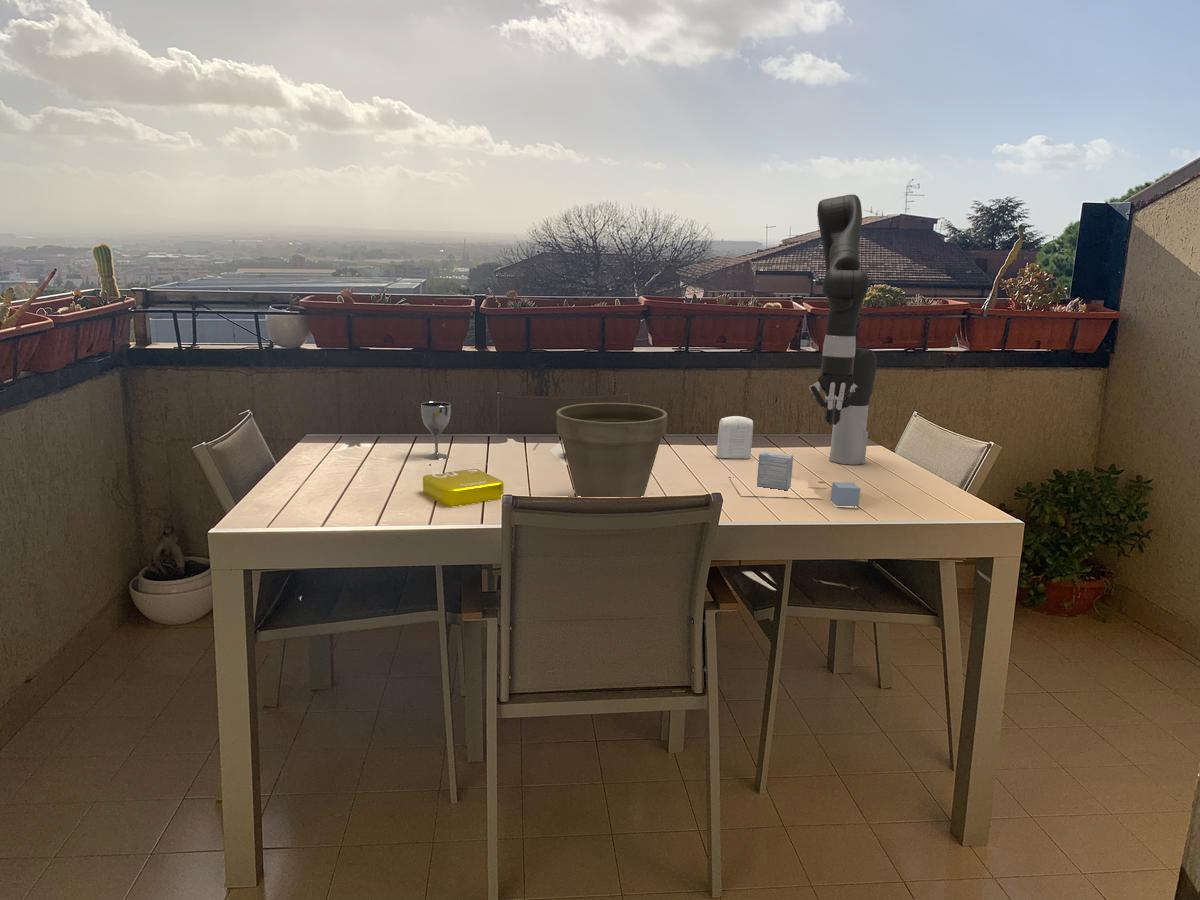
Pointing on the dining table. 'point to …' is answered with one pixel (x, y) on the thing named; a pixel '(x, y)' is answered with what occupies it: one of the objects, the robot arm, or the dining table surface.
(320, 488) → the dining table surface
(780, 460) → the medicine box
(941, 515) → the dining table surface
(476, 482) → the element tile
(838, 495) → the slate-blue cube
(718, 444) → the photo printer
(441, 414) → the wine glass
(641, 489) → the plant pot
